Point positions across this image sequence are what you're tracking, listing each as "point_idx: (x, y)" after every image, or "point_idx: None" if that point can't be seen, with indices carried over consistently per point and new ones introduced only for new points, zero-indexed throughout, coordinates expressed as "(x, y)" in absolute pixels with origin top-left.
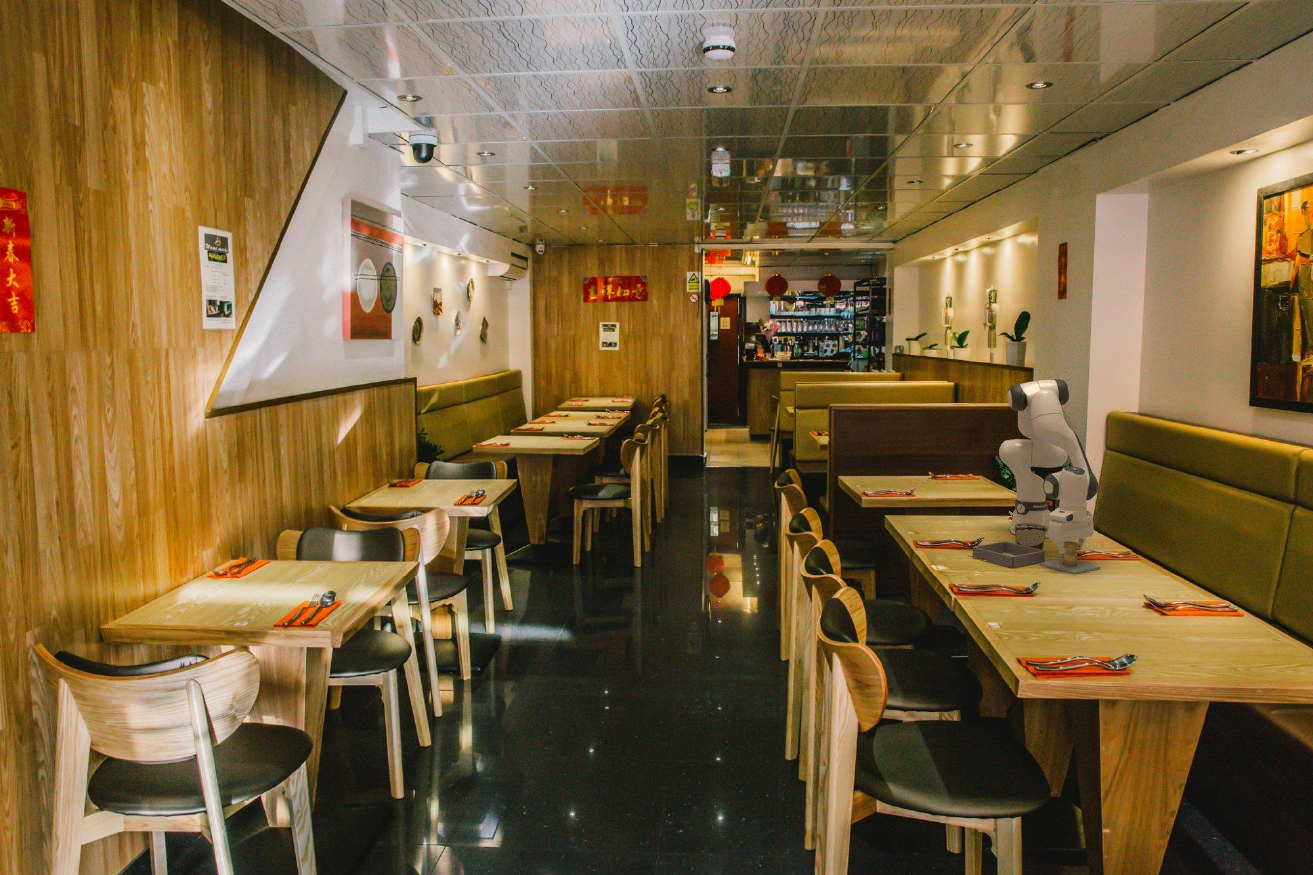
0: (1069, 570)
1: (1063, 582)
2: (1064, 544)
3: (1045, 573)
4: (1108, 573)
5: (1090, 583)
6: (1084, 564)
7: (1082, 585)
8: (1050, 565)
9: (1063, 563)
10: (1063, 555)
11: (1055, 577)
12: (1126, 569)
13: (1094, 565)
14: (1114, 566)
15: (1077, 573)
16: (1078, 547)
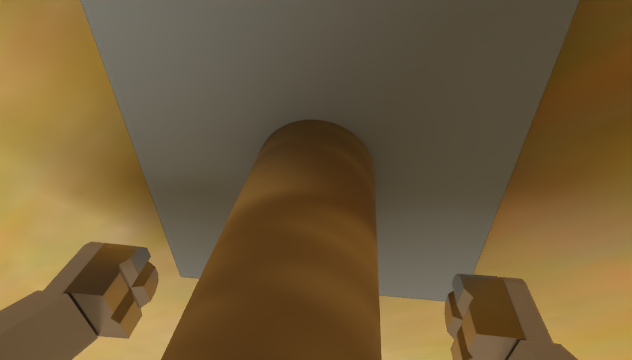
0: (178, 245)
1: (27, 293)
2: (175, 332)
3: (4, 163)
4: (390, 336)
5: (148, 348)
6: (439, 225)
7: (92, 342)
8: (128, 92)
9: (261, 149)
10: (245, 190)
11: (30, 238)
12: (575, 355)
13: (469, 272)
14: (619, 306)
15: None
16: (457, 330)
